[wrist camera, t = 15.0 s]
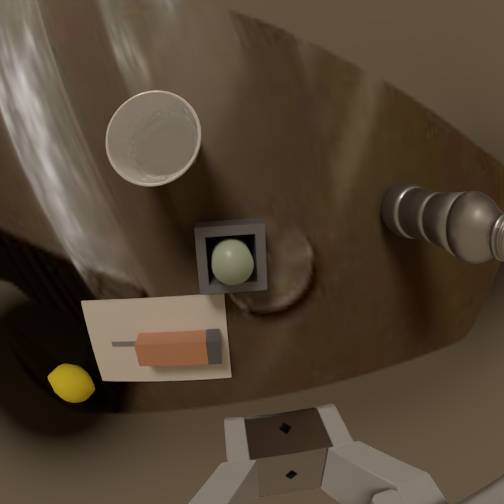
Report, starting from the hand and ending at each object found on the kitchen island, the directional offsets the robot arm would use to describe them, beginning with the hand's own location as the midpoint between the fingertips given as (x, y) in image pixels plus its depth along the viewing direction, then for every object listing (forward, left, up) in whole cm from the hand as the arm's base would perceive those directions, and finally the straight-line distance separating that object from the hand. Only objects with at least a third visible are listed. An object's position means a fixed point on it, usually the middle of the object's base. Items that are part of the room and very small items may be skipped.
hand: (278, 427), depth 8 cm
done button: (0, -2, -28) cm, 28 cm away
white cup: (-6, +10, -29) cm, 32 cm away
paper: (-10, -13, -29) cm, 33 cm away
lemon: (-23, -18, -29) cm, 41 cm away
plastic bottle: (+21, +2, -29) cm, 36 cm away
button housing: (0, -2, -29) cm, 29 cm away
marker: (-7, -13, -29) cm, 32 cm away
